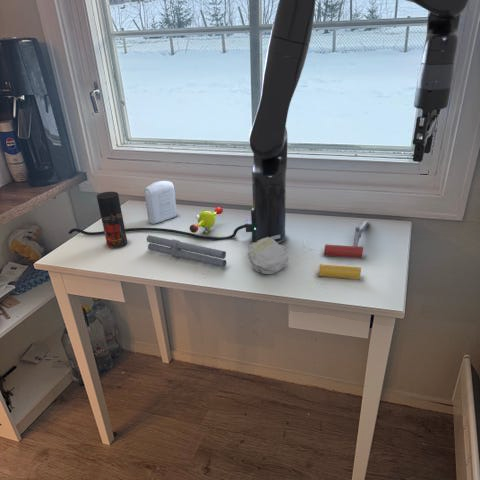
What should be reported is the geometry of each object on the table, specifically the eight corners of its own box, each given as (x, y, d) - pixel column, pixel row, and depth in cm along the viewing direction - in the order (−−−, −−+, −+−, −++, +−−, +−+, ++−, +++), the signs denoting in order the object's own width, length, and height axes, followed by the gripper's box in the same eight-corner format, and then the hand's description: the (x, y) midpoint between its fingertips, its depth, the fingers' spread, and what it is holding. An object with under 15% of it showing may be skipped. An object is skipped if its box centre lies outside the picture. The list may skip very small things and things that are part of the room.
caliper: (356, 251, 129) (358, 229, 125) (352, 250, 129) (354, 229, 126) (368, 223, 144) (370, 204, 141) (364, 223, 145) (366, 203, 141)
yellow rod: (318, 278, 117) (319, 267, 115) (319, 272, 119) (320, 262, 118) (359, 281, 114) (360, 270, 113) (360, 276, 117) (361, 265, 115)
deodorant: (103, 245, 140) (92, 195, 131) (120, 238, 143) (110, 190, 135) (114, 250, 136) (104, 200, 128) (131, 243, 140) (122, 194, 131)
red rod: (323, 257, 126) (324, 247, 125) (325, 252, 129) (325, 242, 127) (361, 260, 124) (363, 249, 122) (362, 255, 126) (363, 245, 125)
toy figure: (213, 220, 152) (211, 200, 148) (228, 222, 150) (227, 202, 146) (184, 242, 139) (181, 220, 135) (200, 244, 137) (198, 222, 133)
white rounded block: (171, 213, 159) (167, 176, 152) (179, 216, 157) (175, 179, 150) (146, 222, 153) (140, 184, 147) (154, 225, 151) (148, 187, 144)
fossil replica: (294, 262, 125) (258, 261, 128) (293, 232, 121) (256, 232, 124) (283, 280, 115) (245, 279, 118) (281, 248, 111) (241, 247, 114)
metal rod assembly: (227, 265, 125) (226, 248, 122) (222, 270, 123) (220, 252, 120) (152, 248, 136) (149, 232, 133) (146, 252, 134) (143, 235, 131)
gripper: (424, 80, 115) (413, 149, 124) (409, 89, 105) (398, 162, 114) (456, 81, 111) (442, 151, 120) (444, 90, 101) (430, 166, 110)
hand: (421, 157), depth 117 cm, fingers open, 8 cm apart
